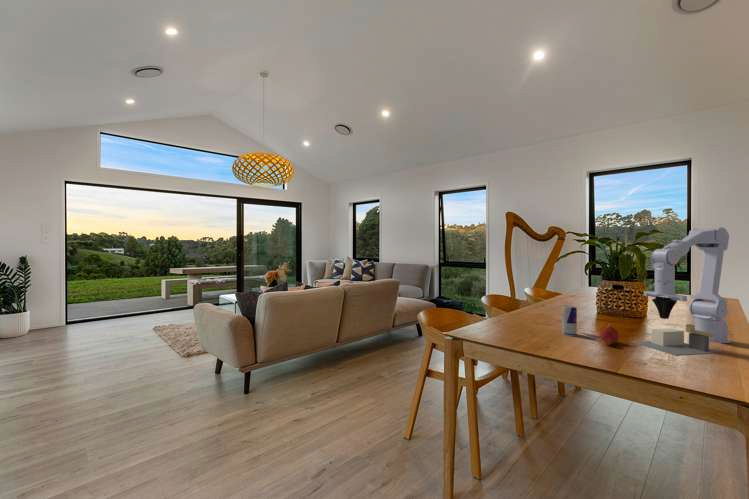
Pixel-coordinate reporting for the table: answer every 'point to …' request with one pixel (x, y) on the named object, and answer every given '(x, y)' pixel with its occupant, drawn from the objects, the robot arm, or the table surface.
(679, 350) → the slate board
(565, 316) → the energy drink
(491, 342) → the table surface
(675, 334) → the cover block
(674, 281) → the robot arm
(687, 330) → the brass bolt
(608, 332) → the onion
